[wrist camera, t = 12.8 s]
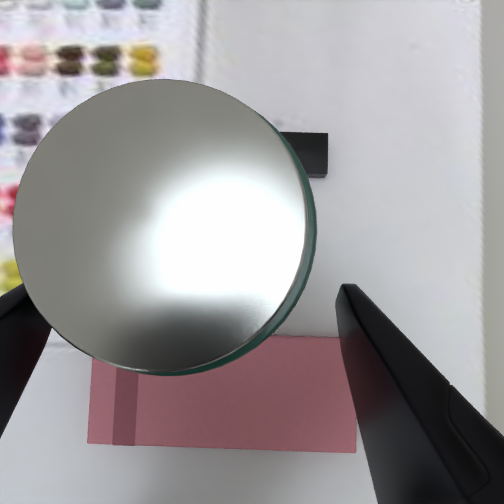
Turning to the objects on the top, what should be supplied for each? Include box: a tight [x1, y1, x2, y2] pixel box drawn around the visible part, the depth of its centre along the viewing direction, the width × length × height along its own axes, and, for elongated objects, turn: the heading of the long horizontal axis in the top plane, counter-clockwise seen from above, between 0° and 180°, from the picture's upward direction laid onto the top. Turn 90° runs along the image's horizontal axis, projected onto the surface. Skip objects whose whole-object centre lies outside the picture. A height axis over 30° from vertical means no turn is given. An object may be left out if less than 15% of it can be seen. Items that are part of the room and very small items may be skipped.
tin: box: [13, 79, 317, 376], centre depth 11 cm, size 6×6×13 cm
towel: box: [87, 335, 356, 453], centre depth 17 cm, size 7×16×1 cm, turn 88°
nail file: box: [280, 132, 328, 177], centre depth 18 cm, size 3×12×1 cm, turn 88°
